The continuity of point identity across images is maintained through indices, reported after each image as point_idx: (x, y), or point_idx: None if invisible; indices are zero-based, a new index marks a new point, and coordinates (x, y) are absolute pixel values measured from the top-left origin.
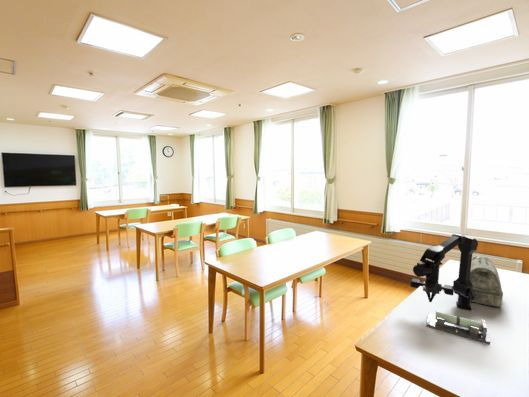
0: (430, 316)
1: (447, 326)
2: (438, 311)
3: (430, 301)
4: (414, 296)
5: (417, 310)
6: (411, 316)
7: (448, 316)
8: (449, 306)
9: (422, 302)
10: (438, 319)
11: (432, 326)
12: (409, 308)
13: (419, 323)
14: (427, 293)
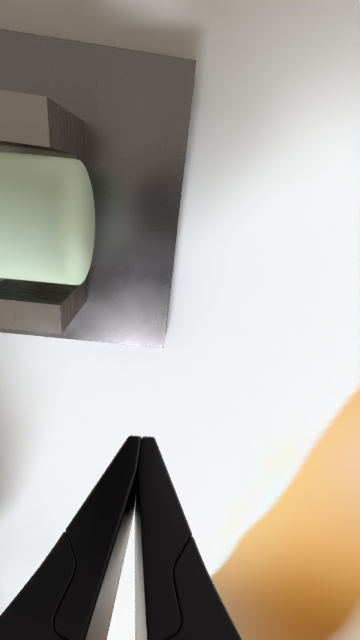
0: (145, 293)
1: None
2: (51, 330)
3: (138, 444)
4: (234, 536)
5: (243, 375)
6: (321, 239)
7: None
8: (25, 509)
9: (191, 492)
10: (34, 96)
11: (129, 50)
12: (304, 379)
13: (266, 107)
14: (211, 638)
